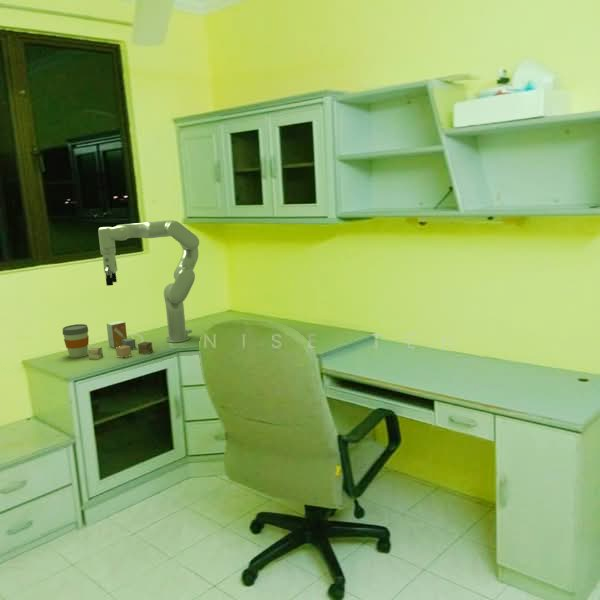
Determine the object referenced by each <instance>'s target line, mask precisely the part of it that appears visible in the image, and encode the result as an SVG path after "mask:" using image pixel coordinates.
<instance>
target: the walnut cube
mask: <svg viewBox="0 0 600 600" xmlns="http://www.w3.org/2000/svg"><path fill="white" fill-rule="evenodd" d="M137 348H138V354H140V353H145V354H144V355H147V353H148V354H150V353H152V352H153V342H152V341H143V342H140V343H138V344H137ZM151 351H152V352H151ZM149 352H150V353H149Z"/></svg>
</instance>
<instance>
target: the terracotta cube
mask: <svg viewBox="0 0 600 600" xmlns="http://www.w3.org/2000/svg"><path fill="white" fill-rule="evenodd" d="M131 350H132V349H130V346H125V345H123V346H120V347H117V348H115V352H116V353H115V354H116V357H117V356H119V357H126V356H129V355H131V356H132V353H131ZM119 357H118V358H119ZM129 357H130V356H129ZM126 358H127V357H126Z"/></svg>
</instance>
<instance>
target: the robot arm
mask: <svg viewBox="0 0 600 600" xmlns="http://www.w3.org/2000/svg"><path fill="white" fill-rule="evenodd" d="M97 231H98V241H99V250H100V255H102V261H103V271H104V274H105V283H106V286H108V287H109V286H110V287H111V286H114V283H117V282H118V281H117V280H118V279H117V275H116V273H117V271H118V266H117V265H118V264H117V259H116V254H117V251H116V250H117V249H116V241H126V240H128V239H134V238H136V239H137V238H138V239H139V238H140V239H155V238H167V237H172V238H173V239H174V240H175V241H177V242H178V243H179V244H180V246H181V247H182V255H181V258H180V260H179V263H178V264H177V266H176V268H175V270H174V271H173V278H174V282H172V283H168V284H167V285H166V286H165V287H164V289H163V299H164V302H165V310H166V311H165V312H166V321H167V322H166V323H167V332H168V336H167V338H166V339H165V340H166V342H167V343H173V344H174V343H183V342H186V341H188V340H189V339H190V335H189V334H191V333H192V332H193V330H192V329H186V317H185V306H184V301H185V300H186V298H187V297H188V295H189V293H190V291H191V289H192V287H193V285H194V283H195V279H196V274H195V272H194V269H195V267H196V264H197V262H198V259H199V246H200V239H199V237H198V236H197V234H195V233H193V232H192V231H191V230H190V229H188V228H186V227H185V226H184V225H183V224H182V223H180V222H178V221H177V220H173V219H172V220H171V219H170V220H158V221H146V222H138V223H137V222H136V223H124V224H117V225H116V226H115V225H114V226H113V227H112V226H102V227H101V226H100V227H99V228H98V230H97Z"/></svg>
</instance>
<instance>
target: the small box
mask: <svg viewBox="0 0 600 600" xmlns="http://www.w3.org/2000/svg"><path fill="white" fill-rule="evenodd" d="M106 330H107V339H108V346H110V348H112V347H113V348H112V349H116V347H119V346H123V345H122V340H124V339H128V336H127V327H126V322H125V321H122V320H118V321H113V322H108V323H106Z"/></svg>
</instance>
